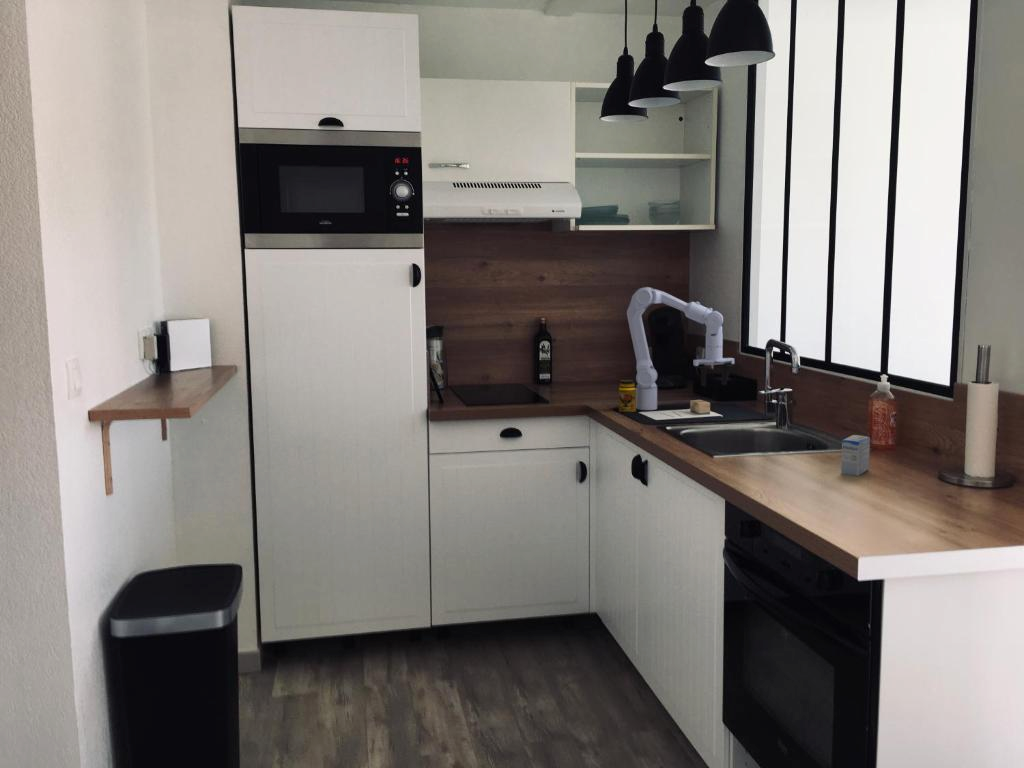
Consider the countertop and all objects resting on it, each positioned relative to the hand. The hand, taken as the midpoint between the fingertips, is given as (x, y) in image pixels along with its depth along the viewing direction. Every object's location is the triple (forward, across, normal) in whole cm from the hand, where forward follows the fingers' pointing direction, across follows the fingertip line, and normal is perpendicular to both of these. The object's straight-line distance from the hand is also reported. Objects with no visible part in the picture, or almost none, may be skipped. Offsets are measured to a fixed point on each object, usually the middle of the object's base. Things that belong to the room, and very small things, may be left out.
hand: (713, 385), depth 311 cm
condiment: (+10, -28, +11) cm, 32 cm away
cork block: (+9, -7, -4) cm, 12 cm away
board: (+10, -14, -3) cm, 17 cm away
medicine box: (+10, -6, -91) cm, 92 cm away
